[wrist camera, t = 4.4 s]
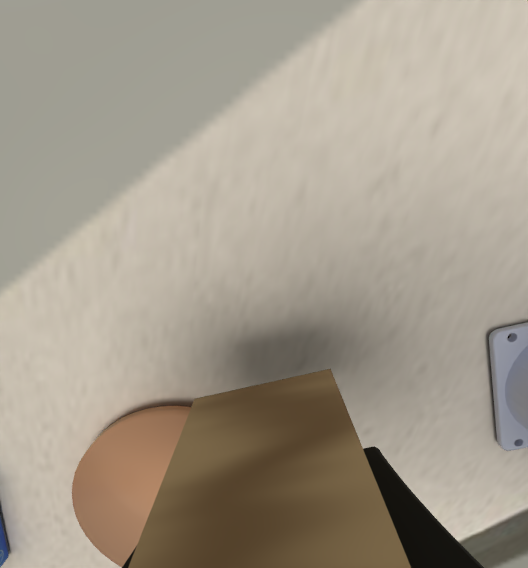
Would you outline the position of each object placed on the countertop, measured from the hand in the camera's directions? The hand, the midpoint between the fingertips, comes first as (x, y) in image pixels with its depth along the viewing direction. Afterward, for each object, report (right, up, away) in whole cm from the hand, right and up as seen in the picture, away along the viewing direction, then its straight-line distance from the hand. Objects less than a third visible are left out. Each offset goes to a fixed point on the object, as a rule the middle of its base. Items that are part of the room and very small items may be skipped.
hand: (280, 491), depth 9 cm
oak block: (0, +1, +2) cm, 2 cm away
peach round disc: (-6, -7, +10) cm, 14 cm away
